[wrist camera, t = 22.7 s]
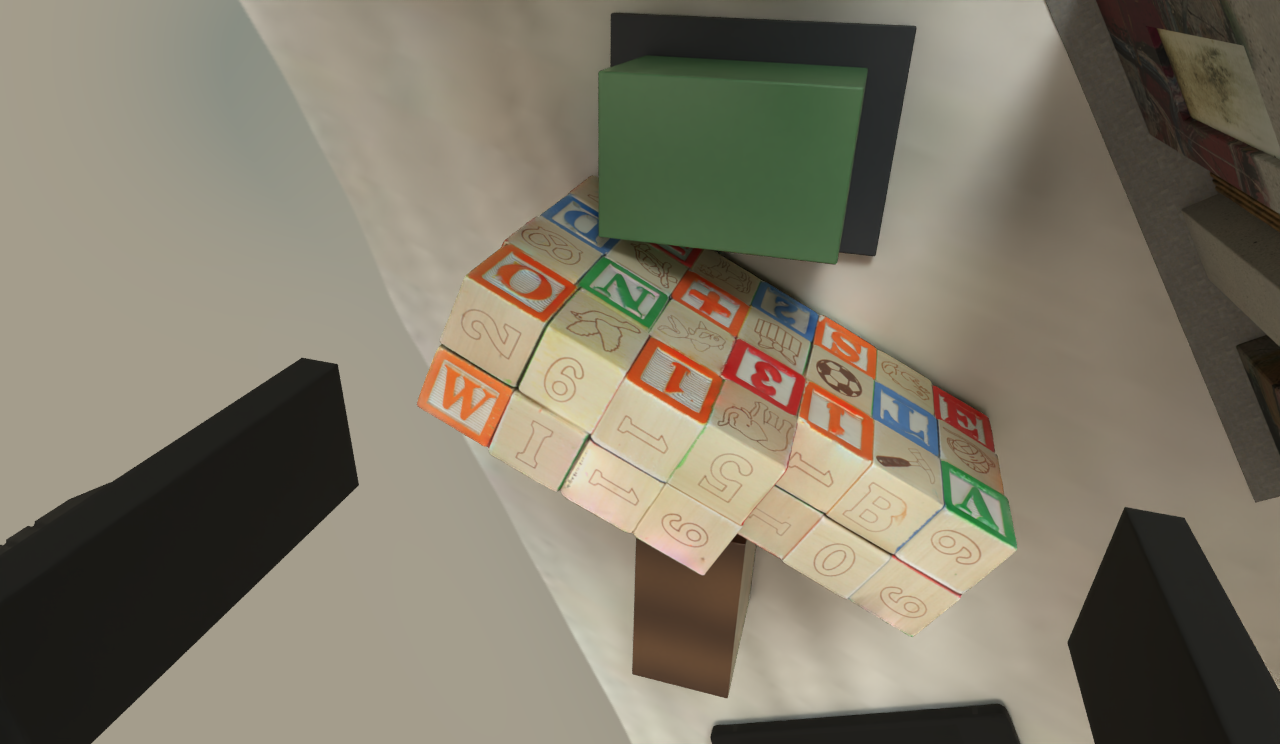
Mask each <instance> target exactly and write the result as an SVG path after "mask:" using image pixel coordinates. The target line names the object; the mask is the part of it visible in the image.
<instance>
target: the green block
mask: <svg viewBox="0 0 1280 744" xmlns="http://www.w3.org/2000/svg"><path fill="white" fill-rule="evenodd" d="M867 73H868V69H867V68H861V67H844V66H826V65H808V64H791V63H773V62H755V61H738V60H720V59H703V58H685V57H667V56H650V55H646V56H643V57H640V58H637V59H634V60H631V61H628V62H625V63H622V64H619V65H616V66H613V67H610V68H607V69H604V70H601V71H599V73H598V176H599V237H604V238H613V239H621V240H630V241H639V242H647V243H656V244H664V245H673V246H681V247H690V248H699V249H707V250H716V251H724V252H733V253H741V254H750V255H758V256H767V257H776V258H784V259H793V260H801V261H810V262H818V263H827V264H836V263H837V261H838V255H839V249H840V243H841V238H842V232H843V226H844V220H845V214H846V208H847V201H848V195H849V188H850V182H851V176H852V169H853V163H854V156H855V150H856V144H857V137H858V131H859V125H860V118H861V112H862V105H863V99H864V93H865V86H866V80H867Z"/></svg>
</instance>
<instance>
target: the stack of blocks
mask: <svg viewBox="0 0 1280 744" xmlns="http://www.w3.org/2000/svg"><path fill="white" fill-rule="evenodd" d="M440 342H441V343H442V344H441V345H440V346H439V348H438V349H437V351H436V353H435V355H434V358H433V361H432V363H431V366H430V369H429V371H428V374H427V376H426V379H425V382H424V385H423V387H422V390H421V393H420V395H419V398H418V402H417V405H418V407H419V408H421V409H423V410H424V411H426V412H428V413H429V414H431V415H433V416H434V417H436V418H438V419H439V420H441V421H443V422H445V423H446V424H448V425H449V426H451V427H453V428H454V429H456V430H457V431H459V432H461V433H462V434H464V435H466V436H468V437H469V438H471V439H473V440H474V441H476V442H478V443H479V444H481V445H482V446H486V447H488V448H489V453H490V454H491V455H492V456H494V457H496V458H498V459H499V460H501V461H503V462H504V463H506V464H507V465H509V466H511V467H513V468H514V469H516V470H518V471H520V472H521V473H523V474H525V475H526V476H528V477H530V478H532V479H533V480H535V481H537V482H539V483H540V484H542V485H544V486H546V487H547V488H549V489H551V490H553V491H559V490H560V491H561V492H562V494H563V496H564V497H565V498H567V499H569V500H570V501H572V502H573V503H575V504H577V505H579V506H580V507H582V508H584V509H586V510H588V511H589V512H591V513H593V514H594V515H596V516H598V517H600V518H602V519H603V520H605V521H607V522H609V523H610V524H612V525H614V526H615V527H617V528H619V529H620V530H622V531H624V532H628V533H633V534H634V535H635V537H636V538H638V539H640V540H641V541H643V542H645V543H647V544H648V545H650V546H652V547H654V548H655V549H657V550H659V551H660V552H662V553H664V554H666V555H667V556H669V557H671V558H672V559H674V560H676V561H678V562H679V563H681V564H683V565H685V566H687V567H688V568H690V569H692V570H693V571H695V572H697V573H698V574H701V575H705V573H706V572H707V571H708V570H709V568H710V567H711V566H712V564H713V563H714V562H715V561H716V559H717V558H718V557H719V556H720V554H721V553H722V552H723V551H724V549H725V548H726V547H727V546H728V544H729V543H730V542H731V541H732V539H733V538H734V537H735V536H736V535H737V534H739V535H741V536H742V537H744V538H746V539H747V540H749V541H751V542H752V543H754V544H756V545H758V546H759V547H761V548H763V549H764V550H766V551H768V552H769V553H771V554H773V555H774V556H776V557H778V558H780V559H782V561H783V562H784V563H785V564H787V565H788V566H790V567H792V568H793V569H795V570H797V571H798V572H800V573H802V574H803V575H805V576H807V577H808V578H810V579H812V580H813V581H815V582H817V583H818V584H820V585H822V586H823V587H825V588H827V589H828V590H830V591H832V592H833V593H835V594H837V595H838V596H840V597H842V598H844V599H850V600H851V601H852V602H853V603H855V604H857V605H858V606H860V607H862V608H863V609H865V610H866V611H868V612H870V613H872V614H874V615H875V616H877V617H879V618H880V619H882V620H883V621H885V622H886V623H888V624H890V625H892V626H894V627H895V628H897V629H898V630H900V631H902V632H903V633H905V634H907V635H909V636H911V637H914V636H915V635H916V634H917V633H919V632H920V631H921V630H922V629H924V628H925V627H926V626H927V625H929V624H930V623H931V622H932V621H933V620H935V619H936V618H937V617H938V616H939V615H941V614H942V613H943V612H945V611H946V610H947V609H948V608H950V607H951V606H952V605H953V604H955V603H956V602H957V601H958V600H960V598H961V595H962V594H963V593H965V592H967V591H968V590H969V589H970V588H972V587H973V586H974V585H975V584H977V583H978V582H979V581H980V580H982V579H983V578H984V577H985V576H987V575H988V574H989V573H990V572H991V571H992V570H993V569H995V568H996V567H997V566H999V565H1000V564H1001V563H1002V562H1003V561H1004V560H1006V559H1007V558H1008V557H1010V556H1011V555H1012V554H1013V553H1014V552H1015V551H1017V542H1016V538H1015V533H1014V527H1013V522H1012V516H1011V512H1010V507H1009V502H1008V499H1007V498H1006V497H1005V496H1004V491H1003V484H1002V479H1001V474H1000V468H999V463H998V457H997V455H996V454H995V449H994V442H993V435H992V430H991V425H990V421H989V417H987V416H986V415H984V414H983V413H981V412H979V411H977V410H976V409H974V408H972V407H971V406H969V405H967V404H965V403H964V402H962V401H960V400H959V399H957V398H955V397H953V396H952V395H950V394H948V393H947V392H945V391H943V390H941V389H940V388H938V387H937V386H934V385H932V384H931V381H930V380H929V379H927V378H925V377H924V376H922V375H920V374H919V373H917V372H915V371H914V370H912V369H911V368H909V367H907V366H906V365H904V364H902V363H901V362H899V361H897V360H896V359H894V358H892V357H891V356H889V355H887V354H886V353H884V352H882V351H880V350H877V349H876V348H875V347H874V346H873V345H871V344H869V343H868V342H866V341H865V340H863V339H862V338H860V337H858V336H857V335H855V334H853V333H852V332H850V331H849V330H847V329H845V328H844V327H842V326H840V325H839V324H837V323H835V322H834V321H832V320H830V319H829V318H827V317H826V316H824V315H818V314H817V313H816V312H814V311H813V310H811V309H810V308H808V307H806V306H805V305H803V304H801V303H799V302H798V301H796V300H795V299H793V298H791V297H790V296H788V295H786V294H785V293H783V292H781V291H780V290H778V289H776V288H775V287H773V286H772V285H770V284H769V283H767V282H764V281H761V280H760V279H759V278H757V277H756V276H754V275H753V274H751V273H749V272H748V271H746V270H744V269H743V268H741V267H739V266H738V265H736V264H735V263H733V262H731V261H729V260H728V259H726V258H725V257H723V256H721V255H720V254H718V253H716V252H715V251H713V250H707V249H699V248H690V247H681V246H673V245H664V244H656V243H647V242H639V241H630V240H621V239H613V238H604V237H599V178H598V177H596V176H593V175H592V176H590V177H588V178H587V179H586V180H585V181H584V182H582V183H581V184H580V185H578V186H577V187H576V188H574V189H573V190H572V191H571V192H570V193H569V194H568V196H566V197H564V198H563V199H561V200H560V201H559V202H557V203H556V204H555V205H553V206H552V207H551V208H549V209H548V210H547V211H545V212H544V213H542V214H541V215H540V216H539V217H535V218H533V219H532V220H531V221H529V222H527V223H526V224H525V225H524V226H523V227H521V228H520V229H519V230H517V231H516V232H515V233H513V234H512V235H511V236H510V237H509V238H507V239H506V240H505V241H504V242H503V244H502V247H501V249H499V250H498V251H497V252H495V253H494V254H493V255H491V256H490V257H489V258H487V259H486V260H485V261H483V262H482V263H481V264H480V265H478V266H477V267H476V268H474V269H473V270H472V271H471V272H469V273H468V274H467V275H466V276H465V278H464V280H463V283H462V286H461V288H460V291H459V293H458V296H457V299H456V301H455V304H454V306H453V309H452V311H451V314H450V316H449V319H448V321H447V324H446V326H445V328H444V331H443V333H442V336H441V338H440Z"/></svg>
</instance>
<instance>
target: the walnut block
mask: <svg viewBox="0 0 1280 744" xmlns="http://www.w3.org/2000/svg"><path fill="white" fill-rule="evenodd" d="M755 551H756V544H754V543H752V542H751V541H749V540H747V539H746V538H744V537H742V536H741V535H739V534H737V535H736V536H735V537H734V538H733V539H732V541H731V542H730V543H729V544H728V546H727V547H726V548H725V549H724V551H723V552H722V553H721V554H720V556H719V557H718V558H717V559H716V561H715V562H714V563H713V564H712V566H711V567H710V568H709V570H708V571H707V572H706V573H705V575H701V574H698V573H697V572H695V571H693V570H692V569H690V568H688V567H687V566H685V565H683V564H681V563H679V562H678V561H676V560H674V559H672V558H671V557H669V556H667V555H666V554H664V553H662V552H660V551H659V550H657V549H655V548H654V547H652V546H650V545H648V544H647V543H645V542H643V541H641V540H640V539H638V538H636V564H635V598H634V633H633V668H632V674H634V675H638V676H642V677H646V678H650V679H653V680H657V681H661V682H665V683H669V684H673V685H677V686H681V687H685V688H689V689H692V690H696V691H700V692H704V693H708V694H712V695H716V696H720V697H724V698H728V695H729V690H730V686H731V681H732V677H733V672H734V667H735V663H736V658H737V654H738V649H739V645H740V640H741V636H742V631H743V626H744V622H745V617H746V613H747V608H748V604H749V598H750V590H751V582H752V574H753V566H754V559H755Z"/></svg>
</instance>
